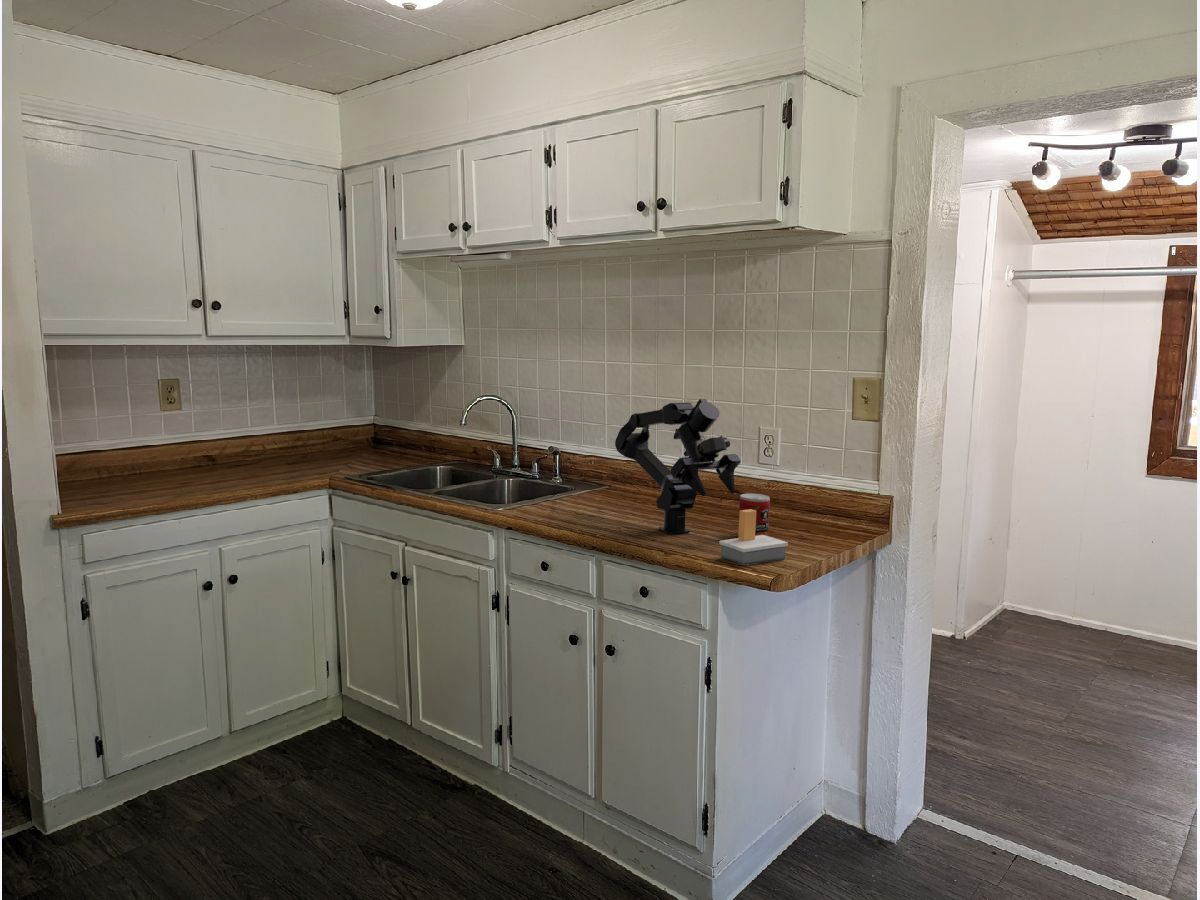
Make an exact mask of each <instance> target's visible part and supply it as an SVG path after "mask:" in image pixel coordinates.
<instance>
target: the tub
mask: <svg viewBox="0 0 1200 900" xmlns="http://www.w3.org/2000/svg"><path fill="white" fill-rule="evenodd" d="M720 546H721V547H720V558H721V557H722V558H721V559H723V558H725V559H724V560H726V559H727V560H726V561H728V560H730V561H729V562H731V561H733V562H732V563H734V562H736V563H735V564H737V563H739V564H741V566H742V565H746V566H748V565H747V564H752V565H754V564H753V563H758V564H762V562H765V563H770V562H769V561H771V562H775V561H776V560H777V561H781V560H785V559H786V547H787V546H783V547H776V548H770V549H763V550H756V551H750V552H741V551H738V550H735V549H732V548H729V547H726V546H723V545H721V544H720ZM739 564H738V565H739Z"/></svg>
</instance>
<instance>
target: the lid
mask: <svg viewBox="0 0 1200 900" xmlns="http://www.w3.org/2000/svg"><path fill="white" fill-rule="evenodd" d="M738 527H739V534H738V535H737V536H738V537H737V538H730V539H724V540H719V543H718V544H719V545H720V546H721V545H723V546H726V547H729V548H732V549H735V550H738V551H741V552H750V551H756V550H763V549H770V548H776V547H783V546H784V547H788V546H789V542H788V541H784V540H781V539H778V538H775V537H771V536H769V535H768V536H765V535H758V536H755V529H756V511H755V510H752V509H749V510H740V514H739V513H738Z"/></svg>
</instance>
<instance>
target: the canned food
mask: <svg viewBox="0 0 1200 900" xmlns="http://www.w3.org/2000/svg"><path fill="white" fill-rule="evenodd" d="M770 505H771V499H770V496H768V495H766V494H761V493H742V494H740V496H739V506H738V507H739V508H738V510H739V511H738V515H739V514H740V510H749V509H752V510H755V511H756V529H755V536H758V535H765V536H769V525H770V524H769V523H770V521H769V520H770V509H771V507H770ZM737 529H738V530H737V531H738V532H737V533H738V535H739V526H738V528H737Z"/></svg>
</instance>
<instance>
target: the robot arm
mask: <svg viewBox="0 0 1200 900" xmlns="http://www.w3.org/2000/svg"><path fill="white" fill-rule="evenodd" d="M720 413H721V412H720V410H719V408H718V407H717V406H715V405H714V404H713V403H712V402H709V401H708V400H707V398H699V399H698V400H697V402H696V404H695V405H694V406H693V403H691V402H687V401H686V402H670V403H667V404H665V405H663V406H662V408H661V409H656V410H651V411H646V412H637V413H632V414H631V415H630V417H629V420H628V421H627V422H626V423H625V424H624V425H623V426H622V427H621V428H620V430H619V431H618V433H617V435H616V439H615V441H614V444H615V445H614V446H615V449H616V451H617V452H618V453H619V454H620V455H622V456H623V457H625V458H628V459H631V460H633V461H635V462H636V463H637V465H639V466H640V467H641V468H642V469H643V470H644V472H646V473H647V474H648V475H649V476H650V477H651V478H652V480H653V481H654V482H655V483H656V484H657V485H659V487H660V495H659V496H658V498H657V499H656V508H657V509H660V510H662V511H663V526H659V527H658V530H660V531H661V532H663V533H666V534H668V535H672V534H673V535H676V534H686V533H687V534H688V533H691V530H689V529H688V528H686V518H687V517H686V513H687V510H689V509H691V510H692V509H694V505H695V501H696V498H697V493H698V494H699V495H701V496H702V497H706V496H707V491H706V489H705V486H704V485H703V482H702V480H701V477H700V475H699V471H706V470H715V471H716V473H717V474H718V479H720V481H721V482H722V483H723V485H724V486H725V487H726V489H727V490H728V491H729V492H730V493H731V494H732V495H733V494H734V493H735V492H736V485H735V475H734V474H735V469H736V468H737V467H738V466H739V465H740V464H741V463H742V461H741V459H740V457H739V455H738V454H736V453H735V454H734V453H733V454H732V453H730V454H724V455H722V457H720V458H719V460H716V459H717V458H718V457H719V456H720V452H724V451H727V449H728V448H729V447H730V446H731V441H730V439H729V438H728V435H726V434H724V435H720V436H717V437H710V438H708V439H706V438H705V436H704V433H707V432H708V431H709V429H710V428H711V427H712V426H713V425H714V423H715V422H716V421H717V420H718V419H719V417H720ZM662 424H664V425H668V426H669V425H670V426H673V425H674V426H675V425H676V426H678V425H680V426H679V427H678V428H675V432H674V434H673V440H680V442H681V444H682V446H683V448H684V449H685V451H684V452H683V455H684V457H679V458H678V459H677V460H676V461H675V463H674V464H673V465H672V467H671V468H670V469H669V468H668V467H667V465H665V464H664V463H663V462H662V461H661V460H660V459H659V457H657V456H656V455H655V454H654V453H653V452H652V451H651V450H650V449H649V439H650V430H649V429H650V426H655V425H662ZM637 428H642V429H641V431H640V432H635V430H636V429H637Z"/></svg>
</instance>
